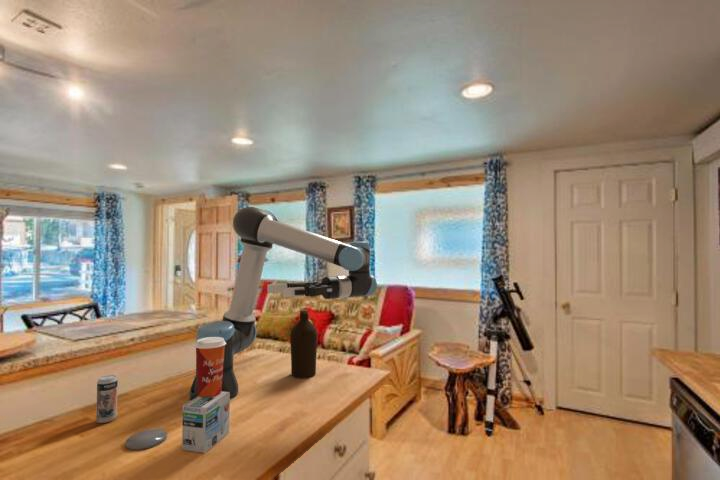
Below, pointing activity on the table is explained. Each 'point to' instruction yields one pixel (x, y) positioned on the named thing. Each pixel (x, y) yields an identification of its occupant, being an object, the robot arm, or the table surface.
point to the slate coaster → (146, 439)
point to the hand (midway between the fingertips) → (274, 290)
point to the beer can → (106, 399)
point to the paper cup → (210, 365)
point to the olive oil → (303, 347)
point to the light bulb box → (205, 422)
